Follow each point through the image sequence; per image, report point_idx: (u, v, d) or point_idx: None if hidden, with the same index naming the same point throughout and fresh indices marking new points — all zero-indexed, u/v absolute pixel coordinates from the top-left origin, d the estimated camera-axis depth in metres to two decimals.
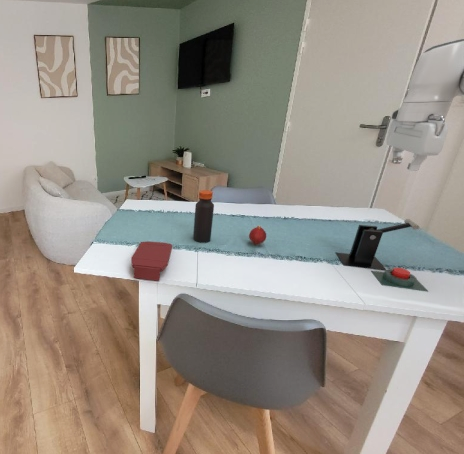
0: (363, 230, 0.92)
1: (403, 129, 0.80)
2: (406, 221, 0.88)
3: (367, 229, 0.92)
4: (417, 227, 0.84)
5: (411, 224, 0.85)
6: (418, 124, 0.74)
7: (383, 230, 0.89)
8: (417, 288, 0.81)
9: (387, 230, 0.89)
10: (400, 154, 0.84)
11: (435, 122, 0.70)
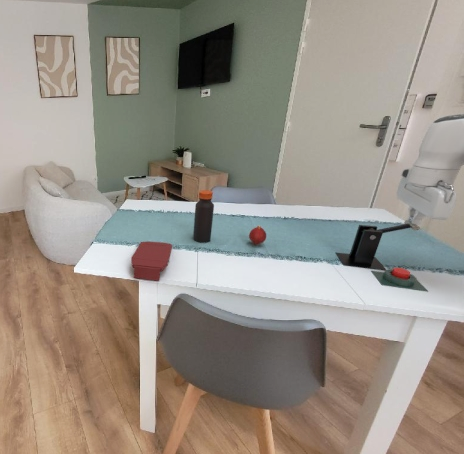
0: (363, 230, 0.92)
1: (413, 188, 0.85)
2: (406, 222, 0.88)
3: (367, 229, 0.92)
4: (417, 228, 0.84)
5: (411, 225, 0.85)
6: (428, 188, 0.79)
7: (383, 230, 0.89)
8: (417, 288, 0.81)
9: (387, 230, 0.89)
10: None
11: (444, 190, 0.75)
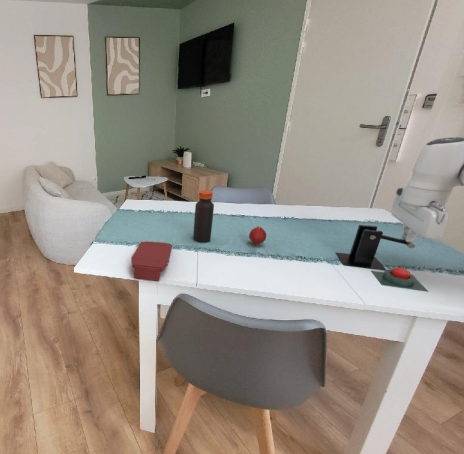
0: (366, 228, 0.91)
1: (407, 206, 0.87)
2: None
3: (370, 229, 0.91)
4: (412, 246, 0.86)
5: (409, 242, 0.87)
6: (421, 208, 0.81)
7: (382, 236, 0.90)
8: (417, 288, 0.81)
9: (386, 238, 0.90)
10: None
11: (436, 210, 0.77)
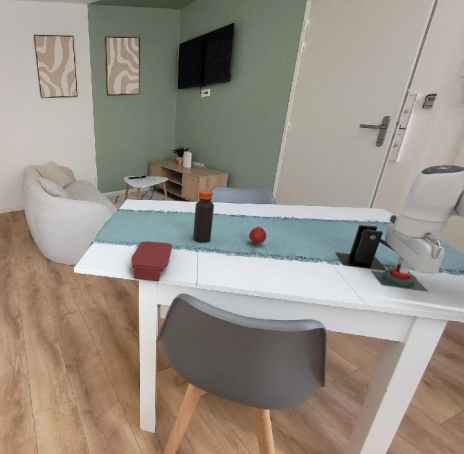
0: (368, 228, 0.91)
1: None
2: None
3: None
4: None
5: None
6: (415, 239, 0.76)
7: None
8: (417, 288, 0.81)
9: (382, 242, 0.90)
10: None
11: (432, 244, 0.72)
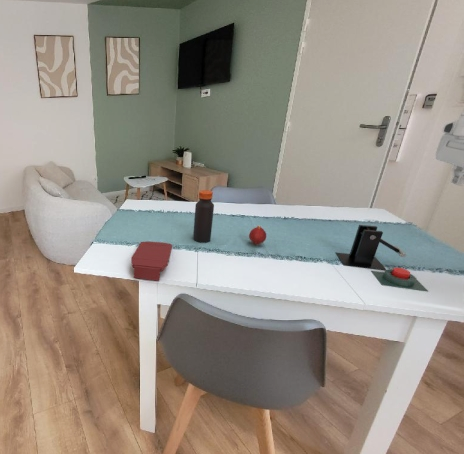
0: (368, 228, 0.91)
1: (458, 144, 0.74)
2: (396, 247, 0.91)
3: None
4: (403, 255, 0.88)
5: (401, 251, 0.89)
6: None
7: None
8: (417, 288, 0.81)
9: (382, 242, 0.90)
10: None
11: None
